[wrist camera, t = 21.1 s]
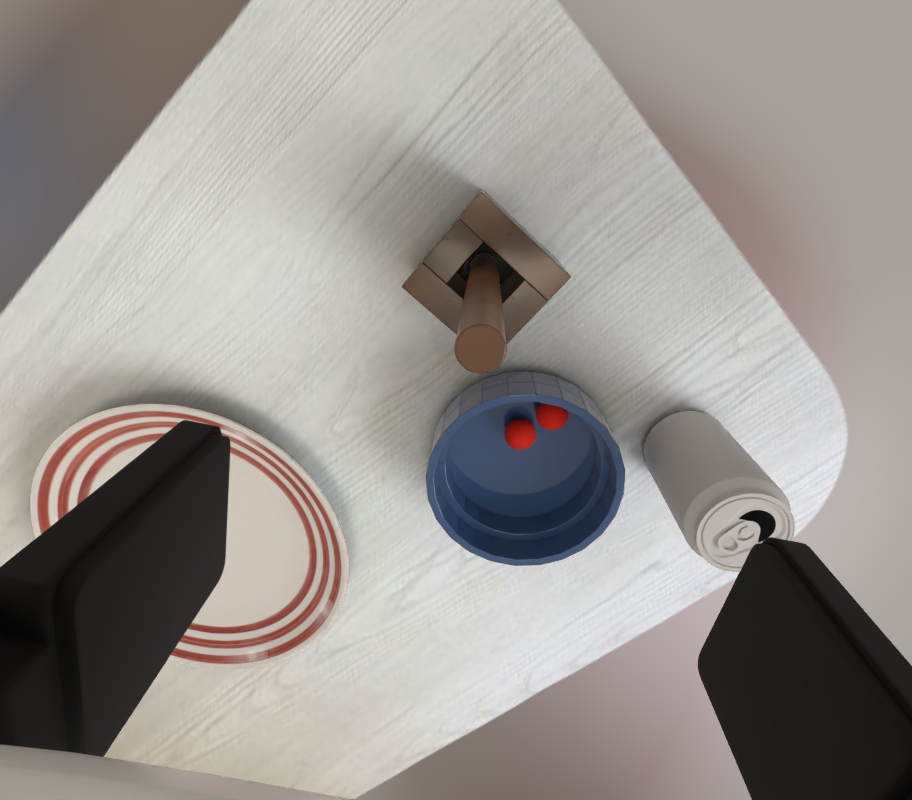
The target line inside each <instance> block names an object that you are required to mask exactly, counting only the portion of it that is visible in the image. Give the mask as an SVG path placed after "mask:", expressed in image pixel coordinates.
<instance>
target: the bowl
mask: <svg viewBox="0 0 912 800" xmlns="http://www.w3.org/2000/svg"><path fill="white" fill-rule="evenodd" d="M540 403H544V404H549V405H554V406H559V407H561V408H563V409H566V410H568V419H567V421H566V423H565V424H564V425H563V426H562V427H561V428H559V429H557V430H547V429H545V428H543V427H542V426H540V424H539V423H538V422H537V419H536V409H537V407H538V405H539V404H540ZM518 418H522V419H526V420H528V421H530V422H531V423H532V424H533V426H534V427H535V430H536V438H535V441H534V443H533V444H532V445H531V446H530V447H529V448H527V449H523V450H517V449H514V448H512V447H511V446H509V445H508V443H507V442H506V440H505V435H504V433H505V428H506V426H507V425H508V423H509V422H511V421H512V420H514V419H518ZM624 484H625V468H624V464H623V460H622V457H621V453H620V449H619V447H618V445H617V443H616V440H615V438H614V436H613V434H612V432H611V430H610V428H609V426H608V424H607V422H606V420H605V418H604V417H603V415H602V413H601V412H600V410H599V408H598V407H597V405H596V404H595V403H594V401H593V400H592V399H590V398H589V397H588V396H587V395H586V394H585V393H584V392H583V391H581V390H580V389H579V388H578V387H576V386H575V385H573V384H571V383H569V382H566V381H564V380H562V379H560V378H558V377H555V376H553V375H548V374H543V373H538V372H534V371H522V372H507V373H502V374H499V375H496V376H492V377H489V378H485V379H483V380H481V381H479V382H477V383H476V384H474V385H472V386H471V387H469V388H467V389H466V390H464V391H463V392H462V393H460V394H459V395H458V397H457V398H456V399H455V400H454V401H453V402H452V403H451V404H450V405H449V406H448V407H447V409H445V411H444V413H443V415H442V417H441V419H440V421H439V423H438V425H437V426H436V429H435V434H434V439H433V444H432V449H431V454H430V459H429V463H428V468H427V473H426V485H427V495H428V501H429V503H430V505H431V508H432V510H433V513H434V515H435V517H436V519H437V521H438V522H439V524H440V525H441V526H442V527H443V529H444V530H445V531H446V533H447V534H448V535H449V536H450V537H451V538H452V539H453V540H454V541H456V542H457V543H458V544H460V545H461V546H462V547H464V548H465V549H466V550H468V551H469V552H471V553H473V554H476V555H478V556H480V557H483V558H485V559H487V560H489V561H490V560H491V561H493V562H498V563H503V564H508V565H515V566H522V565H542V564H546V563H550V562H554V561H559V560H562V559H565V558H567V557H569V556H571V555H573V554H575V553H577V552H579V551H581V550H583V549H585V548H586V547H587V546H588V545H590V544H591V543H592V542H593V541H594V540H596V539H597V538H598V537H599V536H601V535H602V533H603V532H604V531H605V530H606V528H607V527H608V525H609V524H610V523H611V521H612V520H613V519H614V517H615V516H616V514H617V511H618V508H619V506H620V503H621V500H622V497H623V495H624Z"/></svg>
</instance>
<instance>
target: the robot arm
mask: <svg viewBox="0 0 912 800" xmlns="http://www.w3.org/2000/svg"><path fill="white" fill-rule="evenodd" d="M230 447H231V445H230V439H229V438H228V437H226V436H222V433H221V429H220V428H219V427H218V426H214V425H209V424H204V423H199V422H194V421H189V420H183V421H181V422H179V423H178V424H177V425H176V426H175V427H173V428H172V429H171V430H170V431H168V432H167V433H166V434H165V435H163V436H162V437H161V438H160V439H158V440H157V441H156V442H155V443H153V444H152V445H151V446H150V447H149V448H147V449H146V450H145V451H144V452H142V453H141V454H140V455H139V456H137V457H136V458H135V459H134V460H132V461H131V462H130V463H129V464H128V465H126V466H125V467H124V468H123V469H121V470H120V471H119V472H118V473H116V474H115V475H114V476H113V477H111V478H110V479H109V480H108V481H106V482H105V483H104V484H103V485H102V486H100V487H99V488H98V489H97V490H95V491H94V492H93V493H92V494H90V495H89V496H88V497H87V498H85V499H84V500H83V501H82V502H80V503H79V504H78V505H77V506H76V507H74V508H73V509H72V510H71V511H69V512H68V513H67V514H66V515H64V516H63V517H62V518H61V519H59V520H58V521H57V522H56V523H55V524H53V525H52V526H51V527H50V528H48V529H47V530H46V531H45V532H43V533H42V534H41V535H40V536H38V537H37V538H36V539H35V540H33V541H32V542H31V543H30V544H29V545H27V546H26V547H25V548H24V549H22V550H21V551H20V552H19V553H17V554H16V555H15V556H14V557H12V558H11V559H10V560H9V561H7V562H6V563H5V564H4V565H3V566H1V567H0V800H353V799H347V798H341V797H336V796H330V795H325V794H319V793H313V792H308V791H302V790H296V789H291V788H285V787H280V786H274V785H268V784H263V783H257V782H252V781H246V780H240V779H235V778H229V777H223V776H218V775H212V774H206V773H200V772H193V771H187V770H181V769H175V768H168V767H162V766H156V765H149V764H143V763H137V762H131V761H124V760H118V759H112V758H105V757H103V756H104V755H105V754H106V752H107V751H108V749H109V748H110V746H111V745H112V743H113V741H114V740H115V738H116V737H117V735H118V734H119V732H120V731H121V729H122V728H123V726H124V725H125V723H126V722H127V720H128V719H129V717H130V716H131V714H132V713H133V711H134V710H135V708H136V707H137V705H138V704H139V702H140V701H141V699H142V697H143V696H144V694H145V693H146V691H147V690H148V688H149V687H150V685H151V684H152V682H153V681H154V679H155V678H156V676H157V675H158V673H159V672H160V670H161V669H162V667H163V666H164V664H165V663H166V661H167V660H168V658H169V657H170V655H171V653H172V652H173V650H174V649H175V647H176V646H177V644H178V643H179V641H180V640H181V638H182V637H183V635H184V634H185V632H186V631H187V629H188V628H189V626H190V625H191V623H192V622H193V620H194V619H195V617H196V616H197V614H198V612H199V611H200V609H201V608H202V606H203V605H204V603H205V602H206V600H207V599H208V597H209V596H210V594H211V593H212V591H213V590H214V588H215V587H216V585H217V584H218V582H219V580H220V578H221V576H222V573H223V570H224V566H225V559H226V537H227V515H228V492H229V470H230ZM698 670H699V674H700V677H701V680H702V682H703V684H704V687H705V689H706V691H707V694H708V696H709V698H710V701H711V703H712V706H713V708H714V710H715V713H716V715H717V718H718V720H719V722H720V725H721V727H722V729H723V732H724V734H725V737H726V739H727V741H728V744H729V746H730V748H731V751H732V753H733V755H734V758H735V760H736V762H737V765H738V767H739V770H740V772H741V774H742V777H743V779H744V782H745V784H746V786H747V789H748V791H749V793H750V796H751V798H752V800H912V666H911V665H910V664H909V662H908V661H907V660H906V659H905V658H904V657H903V655H901V653H900V652H899V651H898V650H897V649H896V647H895V646H894V645H893V644H892V643H891V641H890V640H889V639H888V638H887V637H886V636H885V635H884V633H883V632H882V631H881V630H880V629H879V628H878V626H877V625H876V624H875V623H874V622H873V621H872V619H871V618H870V617H869V616H868V615H867V614H866V612H864V610H863V609H862V608H861V607H860V606H859V604H858V603H857V602H856V601H855V600H854V598H853V597H852V596H851V595H850V594H849V593H848V591H847V590H846V589H845V588H844V587H843V586H842V585H841V583H840V582H839V581H838V580H837V579H836V578H835V576H834V575H833V574H832V573H831V572H830V571H829V570H828V568H827V567H826V566H825V565H824V564H823V562H822V561H821V560H820V559H819V558H818V557H817V555H816V554H815V553H814V552H813V551H812V550H811V548H810V547H808V546H807V545H806V544H803V543H798V542H793V541H789V540H784V539H779V538H774V537H770V538H767V539H765V540H764V541H763V542H762V543H758V544H755V545H754V546H753V547H752V549H751V550H750V552H749V554H748V556H747V558H746V561H745V563H744V565H743V567H742V569H741V571H740V573H739V575H738V577H737V579H736V581H735V583H734V585H733V587H732V589H731V591H730V593H729V595H728V597H727V599H726V601H725V603H724V605H723V607H722V609H721V611H720V613H719V615H718V617H717V619H716V621H715V623H714V625H713V627H712V629H711V632H710V633H709V636H708V637H707V639H706V641H705V644H704V645H703V648H702V650H701V652H700V654H699V659H698Z"/></svg>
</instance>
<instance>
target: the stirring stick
mask: <svg viewBox="0 0 912 800" xmlns="http://www.w3.org/2000/svg"><path fill="white" fill-rule="evenodd" d="M506 351H507V346H506V337H505V327H504V318H503V309H502V299H501V290H500V281H499V271H498V264H497V261H496V259H495V258H494V257H493V256H492V255H490V254H486V253H482V254H479V255H477V256H475V257H474V258H473V260H472V261H471V264H470V269H469V274H468V279H467V284H466V289H465V295H464V300H463V305H462V310H461V315H460V320H459V326H458V331H457V336H456V341H455V355H456V358H457V360H458V362H459V363H460V364H461V365H462V366H463V367H464V368H465V369H467V370H469V371H471V372H474V373H487V372H490V371H493V370H494V369H496V368H497V367H498V366H500V364H501V363H502V362H503V360H504V358H505V356H506Z"/></svg>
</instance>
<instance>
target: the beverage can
mask: <svg viewBox="0 0 912 800" xmlns="http://www.w3.org/2000/svg"><path fill="white" fill-rule="evenodd" d="M643 452H644V460H645V463H646V465H647V467H648V469H649V471H650V473H651V475H652V477H653V478H654V480H655V482H656V484H657V486H658V488H659V490H660V492H661V494H662V495H663V497H664V499H665V501H666V503H667V505H668V507H669V509H670V511H671V512H672V514H673V516H674V518H675V520H676V522H677V524H678V526H679V528H680V529H681V531H682V533H683V535H684V537H685V539H686V541H687V543H688V544H689V546H690V547H691V548H692V549H693V550H694V551H695V552H696V553H697V554H698V555H700V556H702V557H703V558H704V559H705V560H706V561H707V562H709V563H710V564H711V565H713V566H715V567H717V568H720V569H723V570H726V571H733V572H740V571H741V569H742V567H743V565H744V563H745V561H746V558H747V556H748V554H749V552H750V550H751V549H752V547H753V546H754V545H755V544H758V543H762V542H763V541H764V540H765V539H767V538H770V537H774V538H779V539H784V540H789V541H792V539H793V536H794V528H795V522H794V518H793V515H792V513H791V508H790V504H789V501H788V499H787V497H786V496H785V494H784V493H783V492H782V491H781V490H780V488H779V487H778V486H777V485H776V484H775V483H774V482H773V481H772V480H771V479H770V477H769V476H768V475H767V474H766V473H765V472H764V471H763V470H762V469H761V468H760V466H759V465H758V464H757V463H756V462H755V461H754V460H753V459H752V458H751V457H750V455H749V454H748V453H747V452H746V451H745V450H744V449H743V448H742V447H741V446H740V444H739V443H738V442H737V441H736V440H735V439H734V438H733V437H732V436H731V435H730V433H729V432H728V431H727V430H726V429H725V428H724V427H723V426H722V425H721V424H720V422H719V421H718V420H716V419H715V418H714V417H712V416H710V415H708V414H706V413H702V412H698V411H682V412H678V413H674V414H672V415H669V416H667V417H665V418H664V419H662V420H661V421H659V422H658V423H657V424H656V425H655V426H654V427H653V428H652V429H651V431H650V432H649V434H648V436H647V438H646V440H645V444H644V451H643Z"/></svg>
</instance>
